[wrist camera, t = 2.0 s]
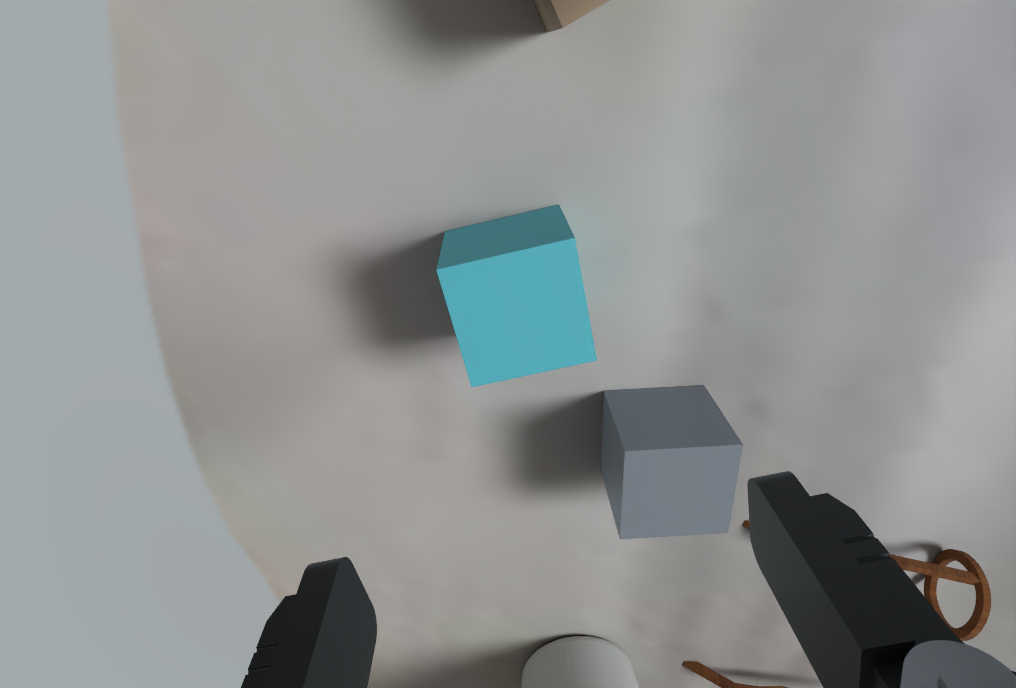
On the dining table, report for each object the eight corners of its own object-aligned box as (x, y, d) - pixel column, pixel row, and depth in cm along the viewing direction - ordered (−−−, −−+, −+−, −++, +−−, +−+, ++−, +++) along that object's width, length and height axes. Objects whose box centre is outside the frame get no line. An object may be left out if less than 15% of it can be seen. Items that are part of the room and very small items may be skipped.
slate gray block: (603, 389, 29) (624, 451, 24) (703, 384, 29) (742, 444, 25) (600, 469, 31) (619, 539, 27) (693, 464, 31) (727, 532, 27)
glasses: (861, 670, 40) (908, 747, 36) (680, 658, 39) (705, 737, 35) (951, 529, 35) (1020, 600, 30) (742, 511, 33) (781, 582, 29)
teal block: (445, 230, 25) (436, 269, 21) (558, 204, 25) (574, 237, 20) (473, 332, 27) (471, 387, 23) (578, 309, 27) (597, 360, 22)
